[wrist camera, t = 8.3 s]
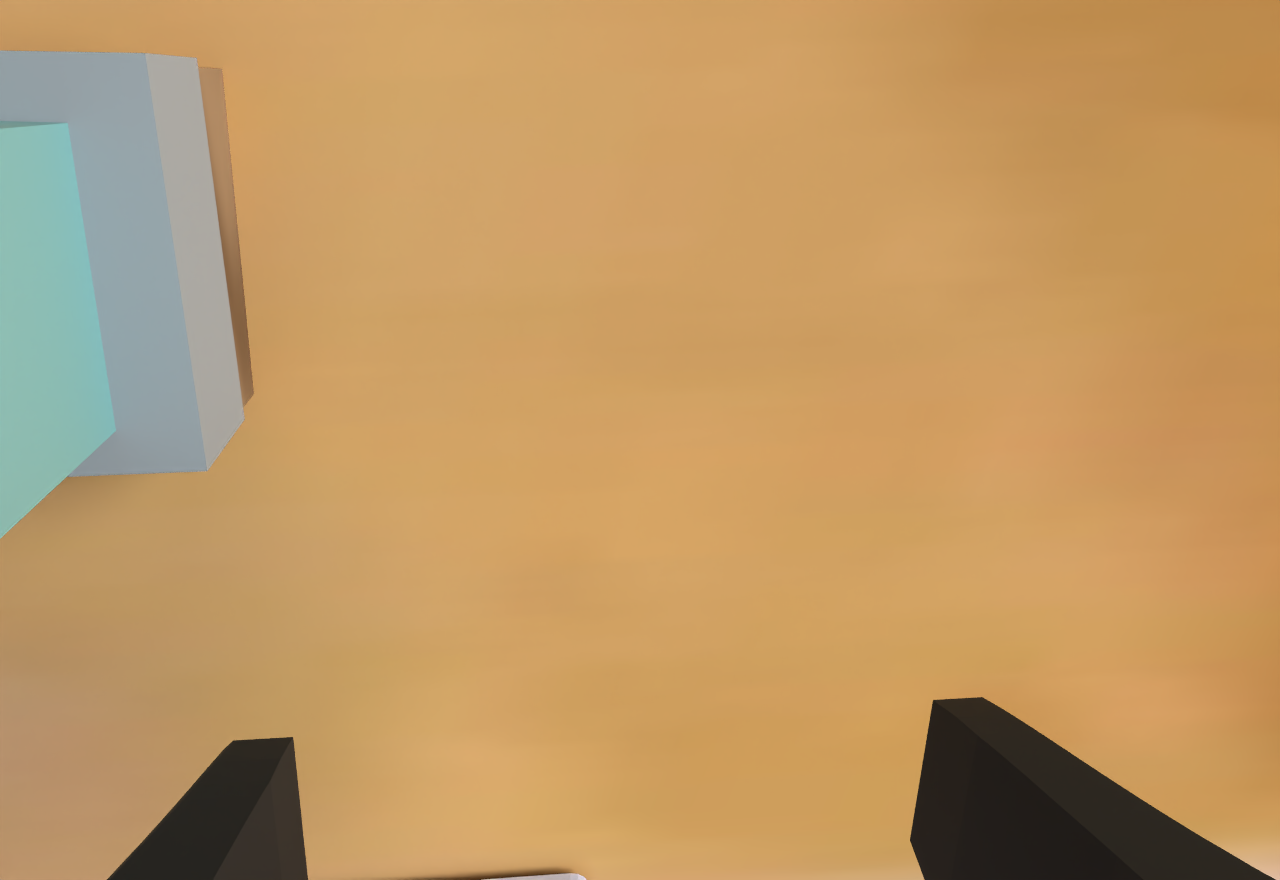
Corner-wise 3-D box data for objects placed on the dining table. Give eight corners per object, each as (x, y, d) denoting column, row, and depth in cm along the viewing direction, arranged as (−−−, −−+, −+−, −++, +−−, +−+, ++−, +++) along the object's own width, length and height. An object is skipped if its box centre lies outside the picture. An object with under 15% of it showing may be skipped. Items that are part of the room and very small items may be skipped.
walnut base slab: (259, 386, 20) (228, 426, 17) (-67, 387, 19) (-146, 429, 16) (228, 69, 18) (189, 66, 15) (-138, 53, 17) (-239, 48, 14)
